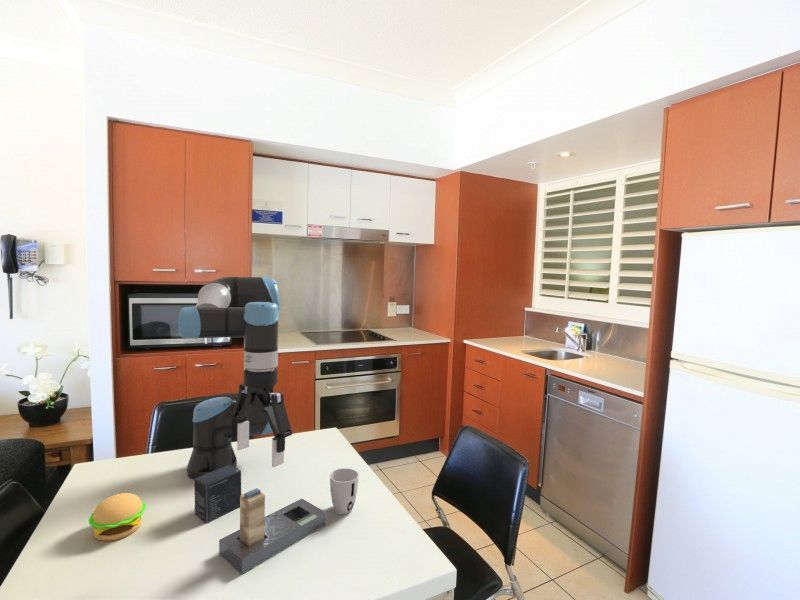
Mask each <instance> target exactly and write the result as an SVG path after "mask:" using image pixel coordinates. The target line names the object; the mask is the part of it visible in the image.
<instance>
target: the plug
mask: <svg viewBox="0 0 800 600" xmlns="http://www.w3.org/2000/svg"><path fill="white" fill-rule="evenodd" d="M265 504H266V495H265V493H264V492H261V490H260V489H259V488H254V489H251V490H248V491H247V492H245V493H243V494H242V493H241V495H240V507H239V530H240V542H241V543H243V544H244V545H245V546H246V547H248V548H249V547H251V546H253V545H254V544H256V543H258V542H260V541H262V540H264V527H265V517H266V515H265V513H266V511H265V509H266V508H265V507H266V505H265Z"/></svg>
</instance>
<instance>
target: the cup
mask: <svg viewBox="0 0 800 600" xmlns="http://www.w3.org/2000/svg"><path fill="white" fill-rule="evenodd" d="M359 475H360V474H359V472H358V471H357V470H356V469H353V468H347V467H345V468H344V467H343V468H337V469H335V470H333V471H331V472H330V474H329V488H330V496H331V501H332V502H331V503H332V505H333V509H334V512H335V513H336V514H339V515H347V514H349V513H351V512H352V511H353V508H354V505H355V503H356V499H357V493H358V486H359Z"/></svg>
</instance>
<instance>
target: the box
mask: <svg viewBox="0 0 800 600" xmlns="http://www.w3.org/2000/svg"><path fill="white" fill-rule="evenodd" d="M193 480H194V481H193V482H194V483H193V486H194V516H196V517H197V518H198V519H199V520H201V521H203V522H204V523H206V524H208V523H211V522H212V521H214V520H216V519H218V518H221V517H223V516H225V515H226V514H228V513H230V512H232V511H234V510H236V509H238V508H240V495H242V470H241V469H238V468H237V467H236V468H235V467H233V466H230V465H227V466H225V467H222V468H220V469H217V470H215V471H212V472H210V473H207V474H205V475H202V476H200V477H197V478H195V479H193Z"/></svg>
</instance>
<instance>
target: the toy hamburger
mask: <svg viewBox="0 0 800 600" xmlns="http://www.w3.org/2000/svg"><path fill="white" fill-rule="evenodd" d="M146 509H147V505H146V503H145V502H143V501H142V500H141V498H140V497H139V496H138V495H137V494H135V493H130V492H122V493H116V494H114V495H111V496H109V497H108V496H107V497H106V498H105V499H103V501H101V502H100V503H99V504H97V506H96V508H95V509H94V510H93V513H90V515H89V518H88V524H89V526H91V527H93V536H94V537H95V539H97V540H99V541H101V542H112V541H116V540H117V541H118V540H120V539H123V538H126V537H128V536H130V535H131V534H133V533H135V532H136V531H137V530H138V529H139V528H140V526H141V525H142V523H143V522H142V521H143V518H142V515H143V514H144V512H145V510H146Z"/></svg>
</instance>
